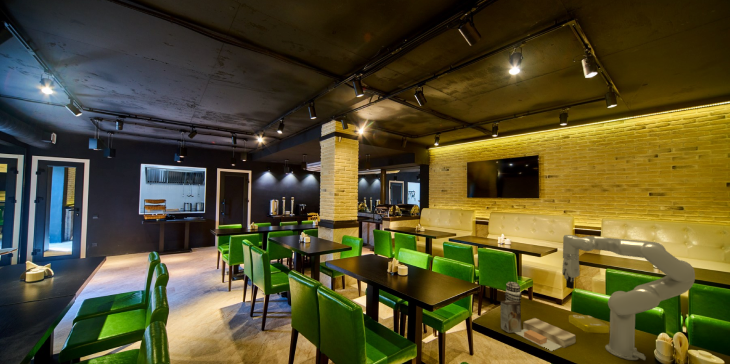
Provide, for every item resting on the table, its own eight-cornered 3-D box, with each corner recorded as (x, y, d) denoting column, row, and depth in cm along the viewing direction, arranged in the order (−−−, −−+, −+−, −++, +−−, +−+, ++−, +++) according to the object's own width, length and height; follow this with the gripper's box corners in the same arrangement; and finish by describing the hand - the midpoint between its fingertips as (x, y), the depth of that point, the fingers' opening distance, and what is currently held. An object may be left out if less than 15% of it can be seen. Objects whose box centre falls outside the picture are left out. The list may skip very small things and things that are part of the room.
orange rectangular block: (540, 340, 148) (540, 344, 148) (546, 337, 151) (546, 342, 151) (524, 331, 156) (523, 336, 156) (530, 329, 159) (530, 334, 159)
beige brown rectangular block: (575, 342, 153) (575, 335, 153) (563, 347, 147) (564, 340, 147) (534, 324, 172) (535, 317, 172) (523, 328, 166) (523, 321, 166)
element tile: (586, 333, 164) (586, 325, 164) (567, 321, 179) (567, 313, 179) (610, 334, 165) (611, 325, 165) (589, 321, 180) (589, 314, 180)
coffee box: (512, 326, 168) (512, 299, 169) (521, 331, 162) (521, 303, 163) (500, 328, 165) (500, 300, 166) (508, 333, 159) (508, 304, 160)
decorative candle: (523, 327, 168) (524, 285, 168) (508, 326, 168) (509, 285, 168) (515, 320, 177) (517, 280, 177) (501, 319, 177) (502, 280, 177)
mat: (561, 346, 148) (561, 346, 148) (551, 351, 143) (551, 350, 143) (524, 329, 165) (524, 328, 165) (514, 332, 160) (514, 332, 160)
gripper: (571, 259, 155) (570, 292, 154) (584, 257, 162) (583, 288, 162) (556, 256, 161) (556, 287, 161) (570, 254, 169) (569, 284, 168)
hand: (569, 288), depth 161 cm, fingers closed
